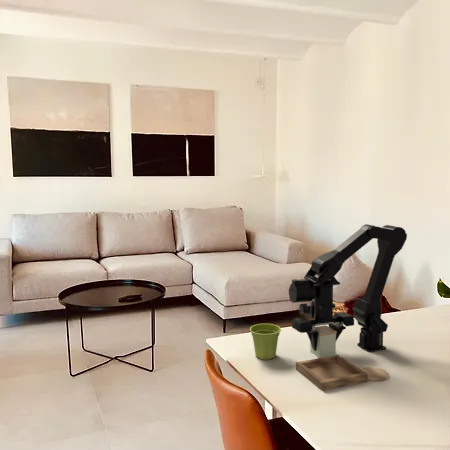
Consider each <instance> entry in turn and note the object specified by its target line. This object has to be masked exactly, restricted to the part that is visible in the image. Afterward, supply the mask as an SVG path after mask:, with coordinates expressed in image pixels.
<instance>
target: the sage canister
mask: <svg viewBox="0 0 450 450" xmlns="http://www.w3.org/2000/svg"><path fill="white" fill-rule="evenodd" d="M315 330H316V331H318V340H317V348H316V351H314V350H313V348H312V345H311V344H310V353H311V354H312V355H314V356H315V357H317V359H318V358H324V357H330V356H336V355H337V353H336V352H337V350H336V349H337V348H336V347H337V345H336V344H337V341H336V334H337V331H335V330H334V329H332V328H330V327H329V325H328V324H327V325H320V326H315Z"/></svg>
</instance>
